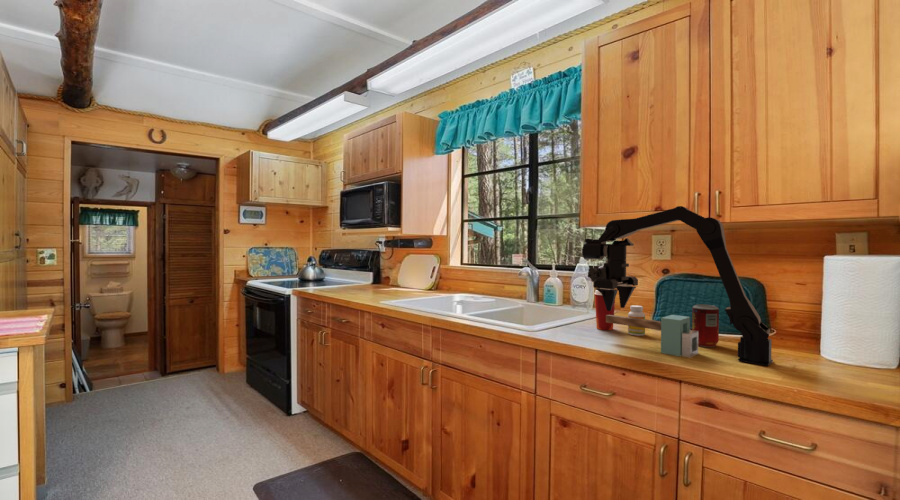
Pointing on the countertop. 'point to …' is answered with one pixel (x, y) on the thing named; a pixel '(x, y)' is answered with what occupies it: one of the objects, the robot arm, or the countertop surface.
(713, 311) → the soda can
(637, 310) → the supplement bottle
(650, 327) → the shaft
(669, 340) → the block
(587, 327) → the countertop surface
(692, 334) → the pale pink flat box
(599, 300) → the paper cup
